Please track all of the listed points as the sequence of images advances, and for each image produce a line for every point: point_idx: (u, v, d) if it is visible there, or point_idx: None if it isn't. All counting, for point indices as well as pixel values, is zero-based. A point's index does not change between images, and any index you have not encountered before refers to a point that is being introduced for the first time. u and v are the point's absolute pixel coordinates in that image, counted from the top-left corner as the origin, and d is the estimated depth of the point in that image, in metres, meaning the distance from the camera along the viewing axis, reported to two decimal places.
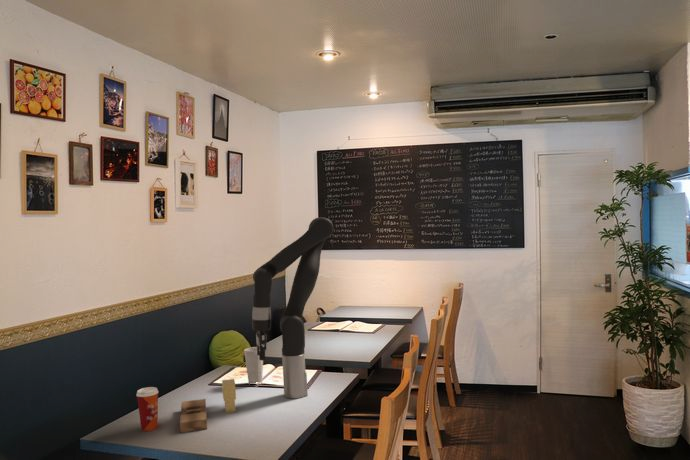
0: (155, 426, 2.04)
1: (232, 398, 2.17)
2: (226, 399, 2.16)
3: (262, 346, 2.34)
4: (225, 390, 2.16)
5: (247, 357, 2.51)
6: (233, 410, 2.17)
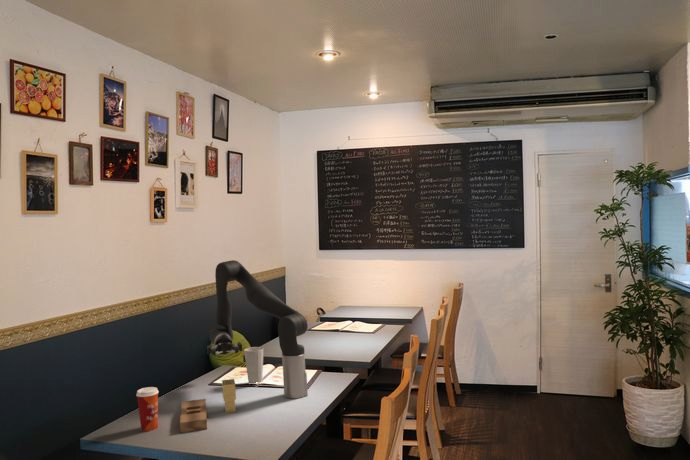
0: (155, 426, 2.04)
1: (232, 398, 2.17)
2: (226, 399, 2.16)
3: (234, 346, 2.34)
4: (225, 390, 2.16)
5: (247, 357, 2.51)
6: (233, 410, 2.17)
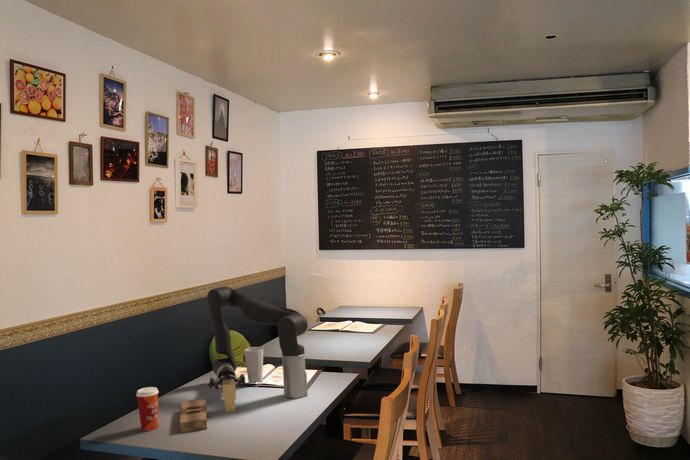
0: (155, 426, 2.04)
1: (232, 398, 2.17)
2: (226, 399, 2.16)
3: (237, 379, 2.31)
4: (225, 390, 2.16)
5: (247, 357, 2.51)
6: (233, 410, 2.17)
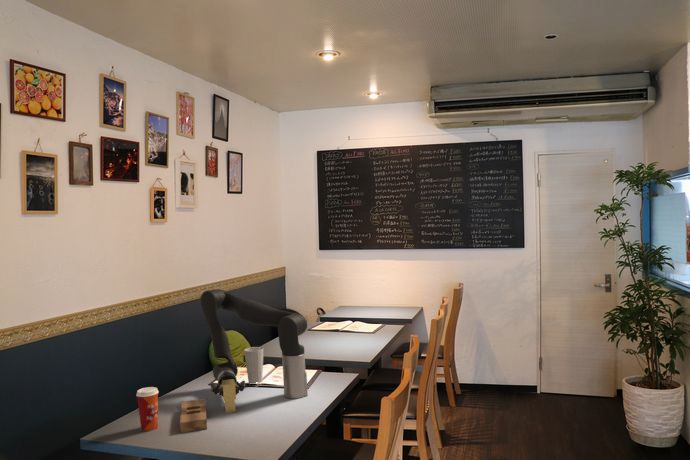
0: (155, 426, 2.04)
1: (232, 398, 2.17)
2: (226, 399, 2.16)
3: None
4: (225, 390, 2.16)
5: (247, 357, 2.51)
6: (233, 410, 2.17)
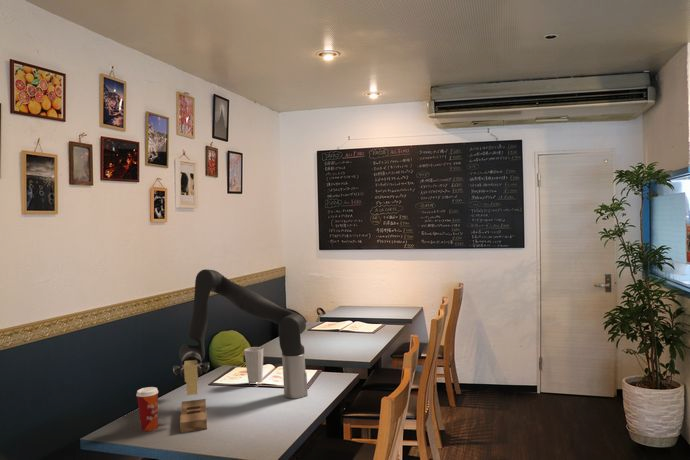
0: (155, 426, 2.04)
1: (194, 379, 2.08)
2: (187, 380, 2.08)
3: (197, 368, 2.13)
4: (187, 371, 2.08)
5: (247, 357, 2.51)
6: (195, 392, 2.09)
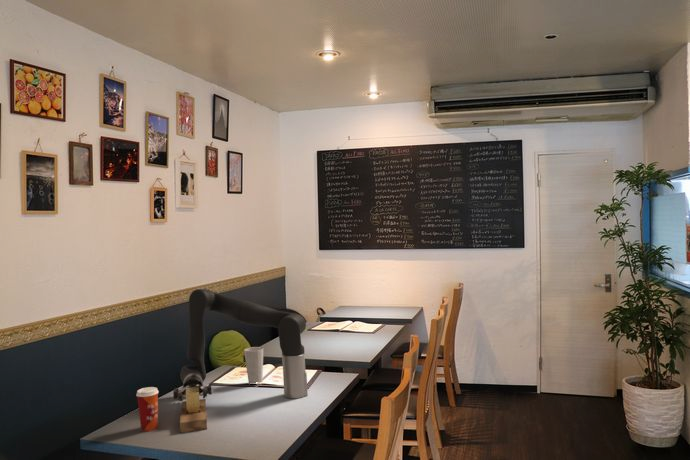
0: (155, 426, 2.04)
1: (196, 407, 2.08)
2: (189, 408, 2.08)
3: (202, 390, 2.14)
4: (189, 398, 2.08)
5: (247, 357, 2.51)
6: None
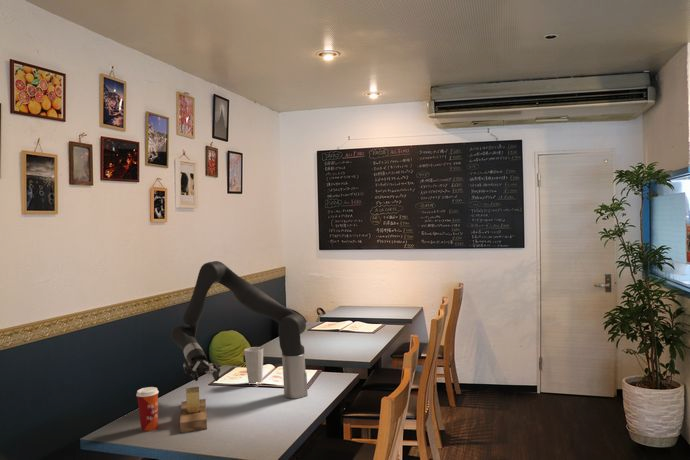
0: (155, 426, 2.04)
1: (196, 407, 2.08)
2: (189, 408, 2.08)
3: (214, 371, 2.29)
4: (189, 398, 2.08)
5: (247, 357, 2.51)
6: None
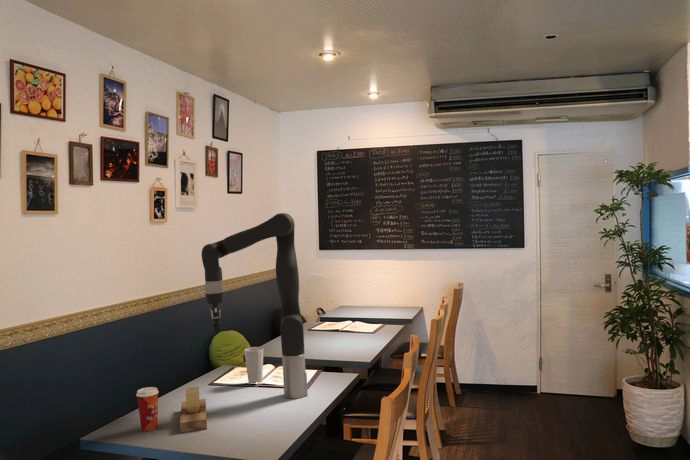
0: (155, 426, 2.04)
1: (196, 407, 2.08)
2: (189, 408, 2.08)
3: None
4: (189, 398, 2.08)
5: (247, 357, 2.51)
6: None
